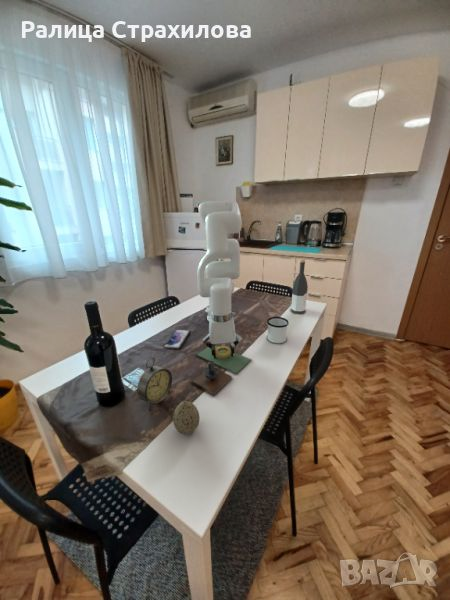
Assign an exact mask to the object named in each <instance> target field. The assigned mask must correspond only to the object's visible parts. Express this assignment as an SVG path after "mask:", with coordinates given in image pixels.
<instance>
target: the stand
mask: <svg viewBox="0 0 450 600" xmlns="http://www.w3.org/2000/svg"><path fill="white" fill-rule="evenodd" d="M232 377H233V376H232V375H230V374H228V373H226V372H224V371H222V370H219V369H218V368H217V367H215V364H214V362H213V361H207V368H206V369H204V371H202V372H201V373H199V374H198V375H197V376H196V377H195V378H193V379H192V380H191V384H192V385H194V386H196V387H198V388H199V389H202V390H203V391H205V392H207V393H208V394H209V395H212V396H216V395H217V394H218V393H219V392H220V391H221V390H222V389H223V388H224V387H225V386H226V385H227V384H228V383H229V382H230V381H231V380H232Z"/></svg>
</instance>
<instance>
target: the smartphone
mask: <svg viewBox="0 0 450 600" xmlns="http://www.w3.org/2000/svg"><path fill="white" fill-rule="evenodd" d="M189 333H190V330H188V329H187V330H185V329H176V330H175V331H174V332H173V334H172V335H171V336H170V338H169V339H168V340H167V342H166V343H165V344H164V348H165V349H180V348H181V346H182V345H183V343H184V341H185V340H186V339H187V337H188V335H189Z"/></svg>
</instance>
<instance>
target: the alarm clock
mask: <svg viewBox="0 0 450 600" xmlns="http://www.w3.org/2000/svg"><path fill="white" fill-rule="evenodd" d="M150 360H153V363H152V365H149V366H148V362H149V361H150ZM155 362H156V359H155V357H150V358H148V359H147V360H146V363H145V367H146V368H147V369H146V370H144V372H143V373H142V374H141V376H140V378H139V380H138V382H137V387H136V388H137V389H136V391H137V395H138V397H139V399H140V400H142V401H144V402H146V403H148V404H149V405H152V406H153V405H157V404H159V403H161V402H162V401H163V400H164V399H165V398H166V397H167V395H168V394H169V393H171V389H172V385H173V375H172V373H171V372H172V371H170V370H169V369H167V368H166V367H162V366H160V365H155ZM152 406H151V407H149V406H148V411H151V410H152V409H151V408H152Z"/></svg>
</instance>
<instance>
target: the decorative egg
mask: <svg viewBox="0 0 450 600" xmlns="http://www.w3.org/2000/svg"><path fill="white" fill-rule="evenodd" d="M172 423H173V427H174V428H175V430H176V431H177V432H178V433H179V434H182V435H190V434H192V433H193V432H195V431H196V430H197V428H198V426H199V423H200V413H199V410H198V408H197V406H196V405H195V404H194V403H193V402H191V401H189V400H183V401H181V402H180V403H178V405H177V406H176V407H175V409H174V411H173V415H172Z"/></svg>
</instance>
